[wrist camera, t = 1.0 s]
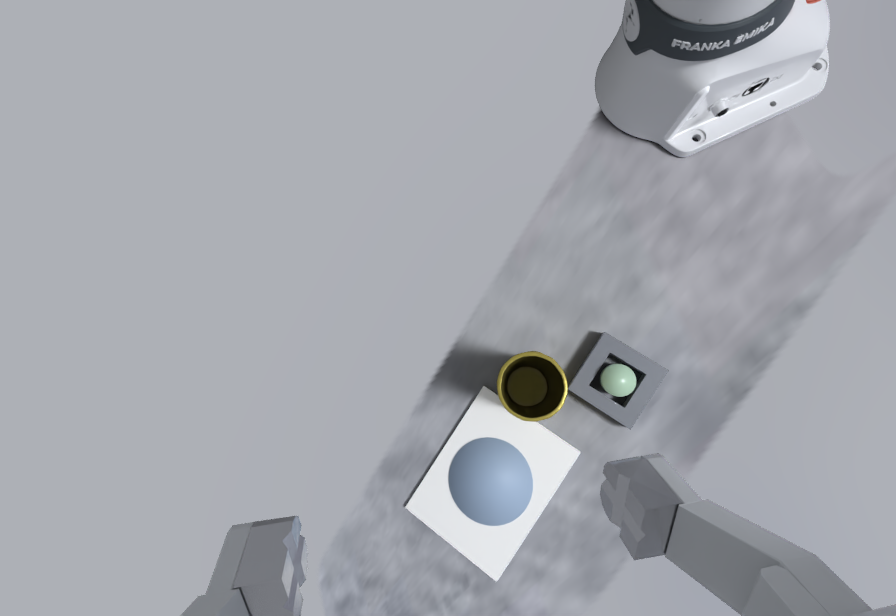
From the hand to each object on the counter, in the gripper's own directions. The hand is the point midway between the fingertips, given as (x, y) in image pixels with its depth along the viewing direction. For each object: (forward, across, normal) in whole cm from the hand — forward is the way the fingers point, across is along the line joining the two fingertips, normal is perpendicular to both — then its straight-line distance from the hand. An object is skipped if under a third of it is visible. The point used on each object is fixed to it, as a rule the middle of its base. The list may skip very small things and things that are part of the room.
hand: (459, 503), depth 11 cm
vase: (+28, -12, +17) cm, 35 cm away
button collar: (+25, -21, +16) cm, 37 cm away
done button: (+24, -21, +16) cm, 36 cm away
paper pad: (+24, -7, +26) cm, 36 cm away
